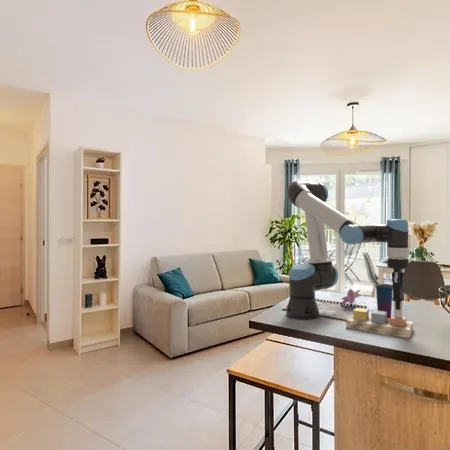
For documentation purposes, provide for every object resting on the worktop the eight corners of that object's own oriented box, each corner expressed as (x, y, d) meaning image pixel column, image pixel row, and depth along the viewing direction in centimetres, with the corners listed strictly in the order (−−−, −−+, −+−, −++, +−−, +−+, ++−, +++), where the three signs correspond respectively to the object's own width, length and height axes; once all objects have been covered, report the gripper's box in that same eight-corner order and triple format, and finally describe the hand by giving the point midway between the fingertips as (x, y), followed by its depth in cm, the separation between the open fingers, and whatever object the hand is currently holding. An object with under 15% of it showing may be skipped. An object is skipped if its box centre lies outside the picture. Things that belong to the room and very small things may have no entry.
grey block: (371, 322, 134) (371, 312, 134) (373, 319, 138) (373, 310, 138) (384, 324, 131) (384, 314, 131) (386, 321, 135) (386, 311, 135)
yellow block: (353, 319, 138) (353, 310, 138) (356, 316, 142) (356, 307, 142) (366, 321, 135) (366, 312, 135) (368, 318, 139) (368, 309, 139)
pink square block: (390, 328, 130) (390, 318, 130) (392, 324, 134) (392, 315, 134) (404, 330, 127) (404, 320, 127) (406, 326, 131) (406, 316, 131)
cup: (395, 321, 143) (394, 287, 143) (378, 321, 144) (377, 287, 144) (390, 317, 150) (390, 284, 149) (374, 316, 151) (374, 283, 151)
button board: (346, 327, 137) (346, 320, 136) (353, 319, 146) (353, 313, 146) (409, 338, 123) (409, 330, 123) (412, 329, 133) (412, 321, 133)
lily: (365, 306, 171) (357, 289, 175) (370, 303, 160) (361, 284, 164) (343, 314, 172) (335, 296, 176) (347, 311, 161) (338, 292, 165)
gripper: (406, 260, 123) (407, 323, 123) (410, 256, 133) (411, 314, 134) (384, 259, 127) (385, 319, 127) (390, 255, 138) (390, 311, 138)
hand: (398, 317), depth 131 cm, fingers closed
